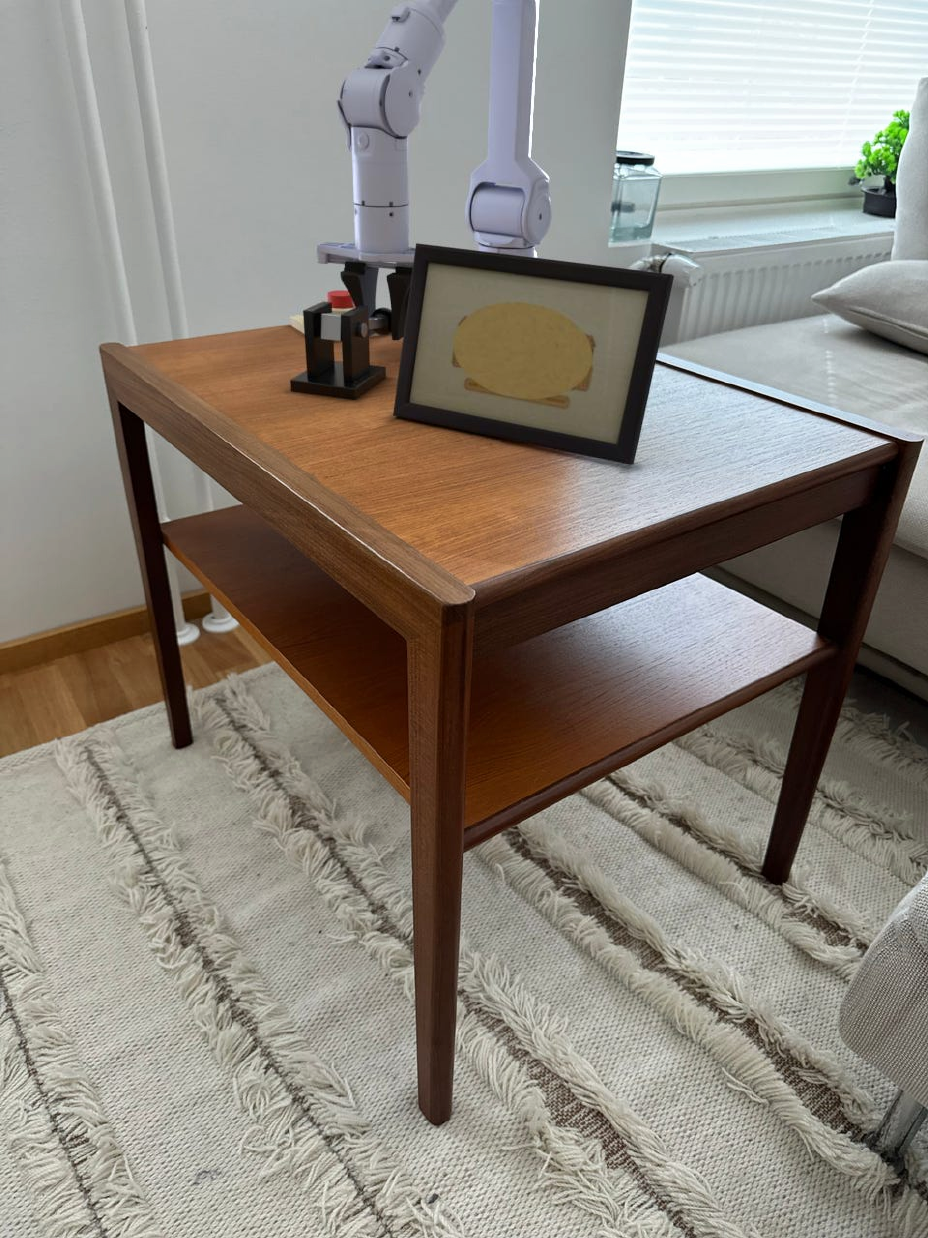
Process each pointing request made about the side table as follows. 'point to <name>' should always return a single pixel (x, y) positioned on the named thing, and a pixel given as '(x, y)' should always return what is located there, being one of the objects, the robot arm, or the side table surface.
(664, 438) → the side table surface
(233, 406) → the side table surface
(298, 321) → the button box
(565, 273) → the picture frame
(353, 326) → the bracket
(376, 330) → the lever
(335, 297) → the button
